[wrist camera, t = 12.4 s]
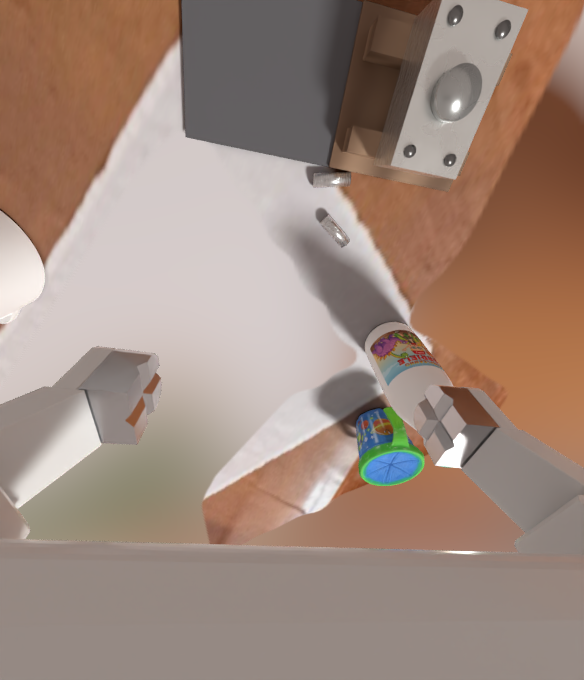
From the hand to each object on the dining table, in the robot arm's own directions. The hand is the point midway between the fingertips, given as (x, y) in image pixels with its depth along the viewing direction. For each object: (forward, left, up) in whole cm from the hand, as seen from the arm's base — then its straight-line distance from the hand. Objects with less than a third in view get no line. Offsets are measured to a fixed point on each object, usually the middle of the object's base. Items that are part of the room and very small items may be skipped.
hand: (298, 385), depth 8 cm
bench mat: (-3, +12, -29) cm, 32 cm away
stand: (+11, +12, -29) cm, 33 cm away
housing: (+11, +12, -26) cm, 30 cm away
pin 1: (+5, +4, -29) cm, 30 cm away
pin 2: (+6, -1, -29) cm, 29 cm away
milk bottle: (+19, -15, -29) cm, 38 cm away
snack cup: (+23, -33, -29) cm, 50 cm away
